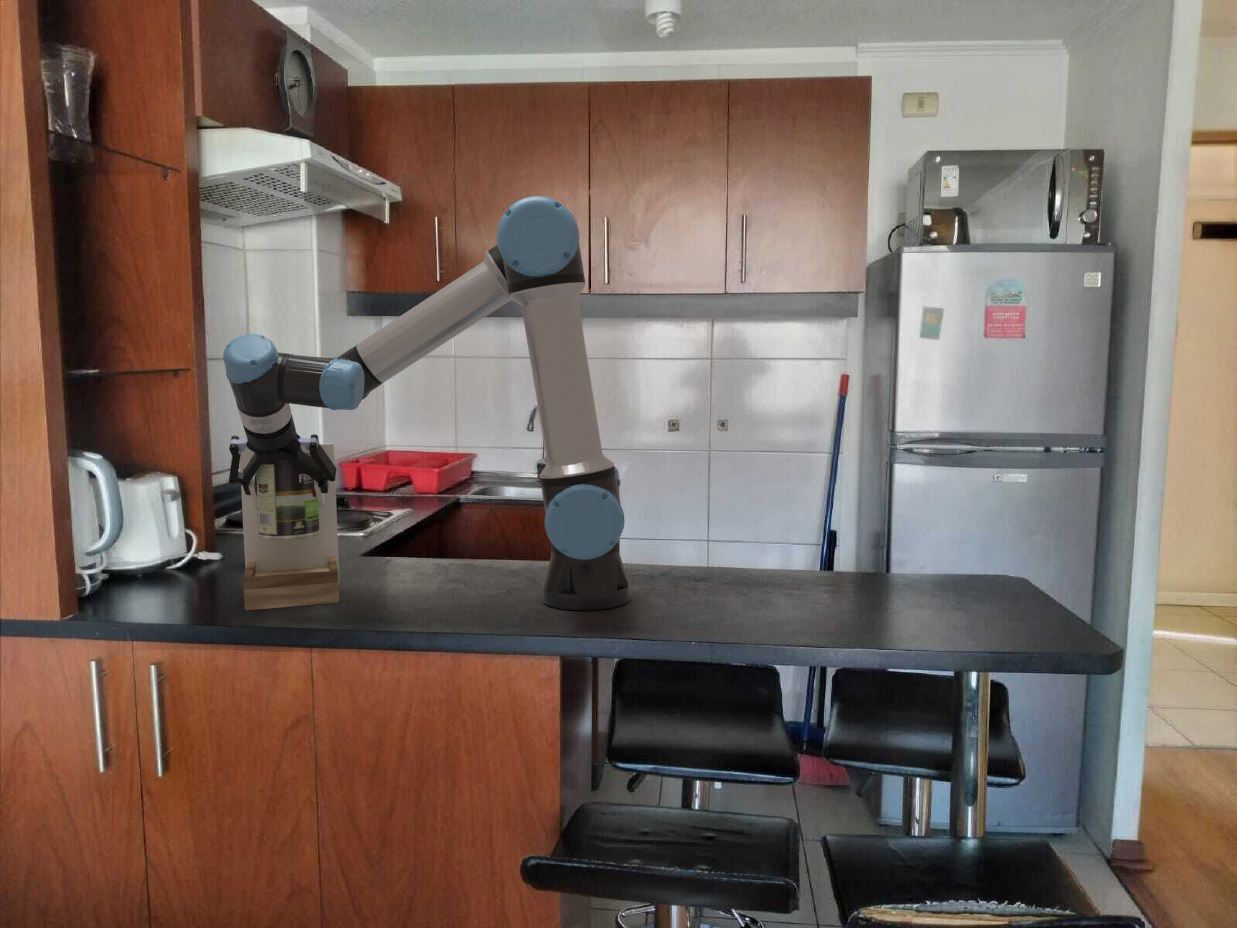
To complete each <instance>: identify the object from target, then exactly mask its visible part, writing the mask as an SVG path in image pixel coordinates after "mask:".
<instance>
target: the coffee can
mask: <svg viewBox="0 0 1237 928" xmlns="http://www.w3.org/2000/svg"><path fill="white" fill-rule="evenodd" d="M306 454H307V455H308V456H309V457H310V458H312V457H311V455H310V453H306ZM312 459H313V458H312ZM314 481H315V480H314V479H313V478H311V477H310V476H309V475H308V474H306V473H305V472H304V471H303V470H301V469H300V468H299V467H298V466H296V465H295V464H294V465H292V464H291V463H290V462H288V461H287V460H272V461H267V459H265V461H264V462H263V464H262V465H260V467H259V469H258V470H257V472H256V487H257V508H258V529H259V535H258V537H259V538H261V539H266V540H292V539H302V538H308V537H313V536H316V535H318V534H320V531H319V509H318V499H317V496H316V492H315V488H314Z"/></svg>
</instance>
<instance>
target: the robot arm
mask: <svg viewBox="0 0 1237 928" xmlns="http://www.w3.org/2000/svg"><path fill="white" fill-rule="evenodd" d="M579 229H580V228H579V225H578V222H577V220H576V218H575V217H574V215H573V213H572V212H571V211H570V209H569V208H568V207H566V206H565V205H564V204H562V203H561V202H559V201H558V200H556V199H553V198H551V197H548V196H545V195H544V196H541V195H533V196H532V195H531V196H528V197H527V196H526V197H523V198H521V199H518V200H517V201H515V202H514V203H513V204H512V205H510V206H509V207H508V209H506V210H505V211H504V213H503V215H502V217H501V219H500V220H499V223H498V228H497V234H496V245H494V246H493V247H491V248H490V249H488V250H486V252H485V257H484V260H483V261H482V262H480V263H479V264H477V265H476V266H474V267H473V268H471V269H469V270H468V271H467V272H465V273H464V274H462V275H461V276H459V277H458V278H456V279H455V280H453V281H452V282H450V283H448V284H447V285H445V286H444V287H442V288H441V289H439V290H438V291H437V292H435V293H433V294H432V295H430V296H429V297H427V298H426V299H424V300H422V301H421V302H420V303H418V304H417V305H415V306H414V307H412V308H411V309H408V310H407V311H406V312H404V313H403V314H401V315H399V316H398V317H397V318H395V319H394V320H392V321H390V322H389V323H388V324H386V325H385V326H383V327H381V328H380V329H378V330H377V331H376V332H374V333H372V334H371V335H369V336H368V337H366V338H365V339H363V340H362V341H361V342H358V343H357V344H356V345H355V346H352V347H351V348H349V349H348V350H346V351H345V352H343V353H342V354H341V355H338V357H319V356H310V355H308V356H307V355H298V354H297V355H296V354H292V353H286V352H279V351H278V350H277V348H276V346H275V344H274V342H273V341H272V340H271V339H270V338H267V337H266V336H264V335H263V334H257V333H249V334H243V335H239V336H238V337H235V338H234V339H232V340H231V341H230V342H229V343H228V344H227V345H226V347H225V348H224V349H223V350H224V351H223V355H222V356H223V363H224V368H225V373H226V374H225V375H226V379H227V380H228V381H229V384H230V387H231V389H232V393H233V396H234V398H235V402H236V408H237V410H238V413H239V416H240V419H241V423H242V427H243V429H244V433H245V436H246V438H244V439H242V438H240V437H239V436H238V435H233V436H231V438H230V442H229V452H230V454H231V461H230V470H229V475H228V476H229V477H228V483H229V484H232V485H235V484H238V483H239V484H240V486H241V485H242V486H243V489H244V491H245V494H246V495H251V496H252V499H253V502H254V505H255V508H256V510H258V508H257V487H256V475H255V473H256V472H257V470H258V469H259V467H260V465H262V464H263V462H264V461H265V459H267V461H272V460H287V461H288V462H290V463H291V464H292V465H294V464H295V465H296V466H298V467H299V468H300V469H301V470H303V471H304V472H305V473H306V474H308V475H309V476H310V477H311V478H313V479H314V480H315V481H314V488H315V492H316V496H317V499H318V504H319V508H324V503H325V493H327V492H328V487H329V484H328V480H329V481H331V482H333V481H335V482H336V478H337V477H336V476H337V467H336V465H334V464H333V463H332V461H331V460H330V458H329V457H328V455H327V454H326V453H325V451H324V450H323V448H322V447H321V445H320V444H321V443H320V441H319V440H320V439H319V435H318V434H315V433H313V434H311V435H310V437H301V436H300V435H299V434H298V432H297V429H296V426H295V421H294V417H293V414H292V408H291V404H292V405H298V406H305V407H306V406H307V407H314V408H322V409H330V410H332V411H336V410H338V411H339V410H342V411H343V410H345V411H353V410H356V409H358V407H359V406H360V403H361V402H362V401H363V400H364V399H366V398H367V397H368V396H369V395H370V393H371V392H372V391H374V390H375V389H377V388H378V387H380V386H381V385H382V384H384V383H385V382H387V381H389V380H390V379H392V378H394V377H395V376H396V375H398V374H399V373H401V372H403V371H404V370H406V369H407V368H409V367H410V366H412V365H413V364H415V363H417V362H418V361H419V360H421V359H422V358H423V357H426V356H427V355H429V354H431V352H434V351H435V350H437V348H440V347H441V346H442V345H444V344H446V343H447V342H449V341H450V340H451V339H453V338H454V337H456V336H458V335H460V334H461V333H462V332H464V331H466V330H467V329H469V328H470V327H472V326H473V325H475V324H476V323H478V322H479V321H481V320H482V319H484V318H486V317H488V316H489V315H490V314H491V313H493V312H495V311H497V310H498V309H499V308H501V307H503V306H504V305H506V304H507V303H508V302H515V303H516V304H517V305H519V306H520V308H521V313H522V318H523V325H524V332H525V338H526V342H527V348H528V354H529V360H530V362H529V363H530V367H531V373H532V379H533V385H534V391H535V397H536V398H535V399H536V402H537V409H538V415H539V421H540V426H541V427H540V428H541V432H542V439H543V444H544V445H543V446H544V451H545V457H546V462H547V463H546V465H545V466H544V467H543V469H542V471H541V472H540V474H539V480H540V486H541V487H540V488H541V492H542V493H541V494H542V499H543V500H542V501H543V505H544V506H543V507H544V511H545V515H544V521H543V523H544V530H545V534H546V535H547V538H548V539H549V541H550V542H551V543H550V544H551V545H550V546H551V549H550V550H551V552H550V553H551V555H550V560H549V563H548V566H547V569H546V572H545V576H544V579H543V583H542V586H541V602H542V603H543V604H544V605H547V606H548V607H550V608H551V607H553V608H556V609H560V610H570V611H572V610H573V611H594V610H605V609H607V610H608V609H611V608H616V607H620V606H623V605H625V604H627V603H629V602H630V600H631V584H630V582H629V579H628V576H627V572H626V570H625V566H624V563H623V560H622V558H621V552H620V550H621V548H620V547H621V544H620V543H621V539H620V538H621V536H622V533H623V531H624V528H625V513H624V511H623V510H624V509H623V508H622V504H621V498H620V485H621V478H620V474H619V473H620V472H619V470H618V467H616V466H615V462H614V461H612V460H611V459H609V458H608V457H606V456H605V455H604V453H603V449H602V448H603V447H602V443H601V441H602V440H601V437H600V436H601V435H600V429H599V423H598V417H597V411H596V405H595V397H594V391H593V386H592V379H591V374H590V373H591V372H590V368H589V367H590V366H589V361H588V354H587V348H586V343H585V336H584V330H583V323H582V317H581V310H580V304H579V296H580V294H582V291H583V290H584V289H585V288H586V285H587V284H586V279H585V278H586V277H585V272H584V265H583V260H582V259H583V258H582V251H581V247H580V230H579ZM300 446H303V447H305V449H306V450H307V452H310V455H311V457H312V458H313V459H312V458H310V457H309V456H308V455H307V454H306V453H304V452H303V451H302V449H301V447H300ZM246 447H247V448H248V449H250V450H251V451H253V452H254V455H253V456H252V458H251V460H250V461H249V463H248V464H247V466H246V468H245V469H244V468H243V472H240V457H241V454H242V452H243V451H244V450H245V448H246Z"/></svg>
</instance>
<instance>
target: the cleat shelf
mask: <svg viewBox="0 0 1237 928" xmlns="http://www.w3.org/2000/svg"><path fill="white" fill-rule="evenodd" d="M242 580H243V581H242V583H243V586H242V587H243V603H244V611H255V610H267V609H278V608H290V607H302V606H303V607H304V606H313V605H325V604H336V603H337V604H338V603H340V587H339V586H340V584H339V582H340V580H339V581H338V568H337V562H336V556H333V557H329V566H328V567H314V568H301V569H287V570H273V571H259V572H256V566H255V562H248V564H247V568H246V571H244V574H243V578H242Z"/></svg>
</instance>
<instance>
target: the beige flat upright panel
mask: <svg viewBox="0 0 1237 928" xmlns="http://www.w3.org/2000/svg"><path fill="white" fill-rule="evenodd" d="M319 444H320V445H321V447H322V448H323V450H324V451H325V453H326V454H327V455H328V457H329V458H330V460H331V461H332V463H333V464H334V465H335V464H336V463H335V462H336V461H335V445H334V443H333V442H331V443H329V442H328V443H319ZM300 447H301V449H302V451H303V452H304V453H310V452H307V450H306V449H305V447H303V446H300ZM253 455H254V452H253V451H251V450H250V449H248V448H247V447H246V448H245V450H244V451H243V452H242V454H241V457H240V464H239V472H243V468H244V469H245V468H246V466H247V464H248V463H249V461H250V460H251V458H252V456H253ZM335 466H336V465H335ZM255 475H256V473H255ZM328 484H329V487H328V492H327V493H325V503H324V508H319V504H318V509H319V531H320V534H318V535H316V536H313V537H308V538H302V539H292V540H266V539H261V538H259V537H258V535H259V529H258V510H256V508H255V505H254V502H253V499H252V496H251V495H246V494H245V491H244V489H243V486H242V485H241V484H240V487H241V510H242V528H243V530H242V531H243V549H244V566H245V567H244V569H245V571H246V568H247V564H248V562H255V566H256V572H259V571H273V570H287V569H301V568H314V567H328V566H329V557H333V556H336V562H337V568H338V581H339V585H340V567H339V566H340V563H339V562H340V561H339V560H340V559H339V538H338V536H339V535H338V513H337V490H336V489H337V488H336V487H337V486H336V480H335V481H333V482H331V481H329V480H328ZM245 571H244V572H245Z"/></svg>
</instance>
